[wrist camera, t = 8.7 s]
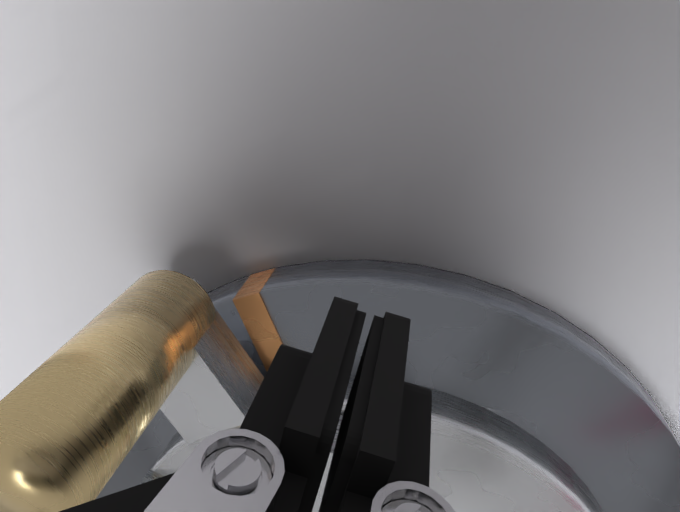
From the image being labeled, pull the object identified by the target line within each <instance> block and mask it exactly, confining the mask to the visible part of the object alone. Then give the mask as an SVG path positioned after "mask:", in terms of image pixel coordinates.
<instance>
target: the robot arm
mask: <svg viewBox="0 0 680 512" xmlns="http://www.w3.org/2000/svg"><path fill="white" fill-rule="evenodd" d="M358 304H359V303H356V302H352V301H349V300H345V299H342V298H339V297H334V299H333V301H332V304H331V306H330V309H329V312H328V314H327V317H326V319H325V322H324V325H323V327H322V330H321V332H320V335H319V338H318V340H317V343H316V346H315V348H314V351H313V353H310V352H307V351H303V350H300V349H297V348H293V347H290V346H287V345H284V344H281V345H280V347H279V349H278V351H277V353H276V355H275V357H274V359H273V361H272V363H271V365H270V367H269V369H268V371H267V373H266V375H265V377H264V379H263V381H262V383H261V385H260V387H259V390H258V392H257V394H256V396H255V398H254V400H253V402H252V404H251V406H250V408H249V410H248V412H247V414H246V416H245V418H244V420H243V422H242V424H241V426H240V428H239V429H227V430H222V431H218V432H216V433H214V434H212V435H209V436H207V437H206V438H205V439H204V440H203V441H202V442H201V443H199V444H198V445H197V447H196V448H195V449H194V450H193V452H192V453H191V454H190V455H189V456H188V458H187V459H186V460H185V461H184V463H183V464H182V465H181V466H180V468H179V469H178V470H177V471H176V472H175V473H172V474H169V475H166V476H163V477H160V478H157V479H154V480H151V481H148V482H145V483H142V484H139V485H136V486H133V487H131V488H128V489H125V490H122V491H119V492H116V493H113V494H110V495H107V496H104V497H101V498H98V499H95V500H92V501H89V502H86V503H83V504H80V505H77V506H74V507H71V508H68V509H65V510H62V511H59V512H312V509H313V506H314V503H315V500H316V497H317V493H318V490H319V487H320V484H321V481H322V477H323V474H324V471H325V468H326V464H327V461H328V458H329V455H330V451H331V448H332V445H333V441H334V437H335V434H336V430H337V426H338V422H339V418H340V415H341V411H342V407H343V403H344V399H345V395H346V391H347V387H348V383H349V380H350V376H351V372H352V368H353V364H354V360H355V356H356V352H357V348H358V344H359V341H360V337H361V333H362V329H363V325H364V321H365V317H366V312H362V311H359V310H357V308H358ZM410 323H411V319H409V318H406V317H403V316H399V315H396V314H393V313H389V312H385V315H384V318H382V317H379V316H376V315H374V318H373V321H372V324H371V327H370V330H369V333H368V337H367V340H366V343H365V346H364V349H363V353H362V356H361V359H360V362H359V365H358V369H357V372H356V375H355V378H354V381H353V385H352V388H351V391H350V394H349V397H348V401H347V404H346V407H345V410H344V414H343V417H342V421H341V424H340V428H339V432H338V436H337V440H336V444H335V448H334V452H333V456H332V460H331V464H330V468H329V472H328V476H327V480H326V484H325V488H324V492H323V496H322V500H321V504H320V508H319V512H455V511H454V509H453V508H452V507H451V505H450V504H449V503H448V502H447V501H446V500H445V499H444V498H443V497H442V496H441V495H440V494H439V493H437V492H435V491H434V490H432V489H430V488H429V475H430V444H431V413H432V391H431V389H428V388H425V387H421V386H418V385H415V384H412V383H408V382H405V381H404V379H405V369H406V360H407V351H408V342H409V332H410Z"/></svg>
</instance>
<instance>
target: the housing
mask: <svg viewBox="0 0 680 512" xmlns="http://www.w3.org/2000/svg"><path fill="white" fill-rule="evenodd" d="M207 294H208V295H209V297H210V299H211V301H212V303H213V305H214V307H215V309H216V310H217V311H218V313H219V314H220V316H221V317H222V318H223V320H224V321H225V323H226V324H227V326H228V327H229V328H230V330H231V331H232V333H233V334H234V335H235V337H236V338H237V340H238V341H239V343H240V344H241V345H242V347H243V348H244V350H245V351H246V352H247V354H248V355H249V357H250V358H251V360H252V361H253V362H254V364H255V365H256V367H257V368H258V369H259V371H260V372H261V374H262V375H263V377H265V375H266V373H267V371H268V369H269V367H270V365H271V363H272V361H273V359H274V357H275V355H276V353H277V351H278V349H279V347H280V345H281V344H284V345H287V346H290V347H293V348H297V349H300V350H303V351H307V352H310V353H313V351H314V348H315V346H316V343H317V340H318V338H319V335H320V332H321V330H322V327H323V325H324V322H325V319H326V317H327V314H328V312H329V309H330V306H331V304H332V301H333V299H334V297H339V298H342V299H345V300H349V301H352V302H356V303H359V304H358V308H357V310H359V311H362V312H366V317H365V321H364V325H363V329H362V333H361V337H360V341H359V344H358V348H357V352H356V356H355V360H354V364H353V368H352V372H351V376H355V375H356V372H357V369H358V365H359V362H360V359H361V356H362V353H363V349H364V346H365V343H366V340H367V337H368V333H369V330H370V327H371V324H372V321H373V318H374V315H376V316H379V317H382V318H384V315H385V312H389V313H393V314H396V315H399V316H403V317H406V318H409V319H411V323H410V332H409V342H408V351H407V360H406V369H405V379H404V381H405V382H408V383H412V384H415V385H419V386H423V387H426V388H430V389H434V390H438V391H441V392H445V393H448V394H450V395H453V396H456V397H458V398H461V399H463V400H466V401H469V402H471V403H474V404H476V405H479V406H481V407H483V408H485V409H487V410H489V411H491V412H493V413H495V414H497V415H499V416H501V417H503V418H505V419H507V420H509V421H511V422H512V423H514V424H516V425H517V426H519V427H520V428H522V429H523V430H525V431H526V432H528V433H529V434H531V435H532V436H534V437H535V438H537V439H538V440H540V441H541V442H543V443H544V444H545V445H546V446H547V447H549V448H550V449H551V450H552V451H553V452H554V453H555V454H557V455H558V456H559V457H560V458H561V459H562V460H563V461H565V462H566V463H567V464H568V465H569V466H570V467H571V468H572V469H573V471H574V472H575V473H576V474H577V475H578V476H579V477H580V479H581V480H582V481H583V482H584V483H585V484H586V485H587V487H588V488H589V489H590V490H591V492H592V494H593V495H594V497H595V498H596V500H597V502H598V503H599V505H600V506H601V508H602V509H603V511H604V512H680V444H679V442H678V440H677V438H676V437H675V435H674V433H673V431H672V429H671V428H670V426H669V424H668V423H667V421H666V420H665V418H664V416H663V415H662V413H661V411H660V410H659V408H658V406H657V405H656V403H655V402H654V400H653V398H652V397H651V396H650V394H649V393H648V392H647V391H646V390H645V389H644V387H643V386H642V385H641V384H640V383H639V382H638V380H637V379H636V378H635V377H634V376H633V375H632V373H631V372H630V371H629V370H628V369H627V368H626V366H625V365H623V364H622V363H621V362H620V361H619V360H618V359H617V358H615V357H614V356H613V355H612V354H611V353H610V352H608V351H607V350H606V349H605V348H604V347H603V346H602V345H600V344H599V343H598V342H597V341H596V340H595V339H593V338H592V337H591V336H589V335H588V334H586V333H585V332H583V331H582V330H580V329H579V328H577V327H576V326H574V325H573V324H571V323H570V322H568V321H566V320H565V319H563V318H562V317H560V316H559V315H557V314H556V313H554V312H553V311H551V310H549V309H546V308H544V307H542V306H540V305H538V304H536V303H534V302H532V301H530V300H528V299H526V298H524V297H522V296H520V295H518V294H516V293H514V292H512V291H509V290H506V289H504V288H501V287H498V286H495V285H492V284H489V283H486V282H483V281H480V280H477V279H474V278H472V277H469V276H466V275H462V274H458V273H453V272H449V271H444V270H439V269H435V268H430V267H426V266H421V265H416V264H406V263H396V262H386V261H375V260H341V261H319V262H312V263H305V264H298V265H292V266H285V267H279V268H273V269H269V270H266V271H262V272H258V273H255V274H251V275H250V276H247V277H244V278H240V279H238V280H236V281H233V282H231V283H229V284H227V285H224V286H222V287H220V288H218V289H215V290H213V291H211V292H209V293H207ZM177 432H178V431H177V430H176V428H175V427H174V426H173V425H172V423H171V422H170V421H169V420H168V418H167V417H166V416H165V415H164V413H163V412H162V411H161V410H160V409H159V411H158V412H157V413H156V415H155V416H154V418H153V419H152V420H151V422H150V423H149V425H148V426H147V427H146V429H145V430H144V432H143V433H142V434H141V436H140V437H139V439H138V440H137V441H136V443H135V444H134V446H133V447H132V448H131V450H130V451H129V453H128V454H127V455H126V457H125V458H124V460H123V461H122V463H121V464H120V465H119V467H118V468H117V470H116V471H115V472H114V474H113V475H112V477H111V478H110V479H109V481H108V482H107V484H106V485H105V486H104V488H103V489H102V491H101V492H100V493H99V495H98V496H97V498H96V499H98V498H101V497H104V496H107V495H110V494H113V493H116V492H119V491H122V490H125V489H128V488H131V487H133V486H136V485H139V484H140V483H141V482H142V480H143V479H144V477H145V476H146V474H147V472H148V471H149V469H152V467H153V466H154V464H155V462H156V461H157V459H158V458H159V456H160V455H161V453H162V452H163V450H164V449H165V448H166V446H167V445H168V443H169V442H170V441H171V439H172V438H173V436H174V435H175V434H176V433H177Z"/></svg>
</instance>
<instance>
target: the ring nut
mask: <svg viewBox="0 0 680 512" xmlns="http://www.w3.org/2000/svg"><path fill="white" fill-rule="evenodd" d="M354 378H355V376H350V380H349V383H348V387H347V391H346V395H345V399H344V403H343V407H342V411H341V415H340V418H339V422H338V426H337V430H336V434H335V437H334V441H333V445H332V448H331V451H330V455H329V458H328V461H327V464H326V468H325V471H324V474H323V477H322V481H321V484H320V487H319V490H318V493H317V497H316V500H315V503H314V506H313V509H312V512H319V508H320V504H321V500H322V496H323V492H324V488H325V484H326V480H327V476H328V472H329V468H330V464H331V460H332V456H333V452H334V448H335V444H336V440H337V436H338V432H339V428H340V424H341V421H342V417H343V414H344V410H345V407H346V404H347V401H348V397H349V394H350V391H351V388H352V385H353V381H354ZM263 379H264V377H263V375H262V374H261V372H260V371H259V369H258V368H257V367H256V365H255V364H254V362H253V361H252V360H251V358H250V357H249V355H248V354H247V352H246V351H245V350H244V348H243V347H242V345H241V344H240V343H239V341H238V340H237V338H236V337H235V335H234V334H233V333H232V331H231V330H230V328H229V327H228V326H227V324H226V323H225V321H224V320H223V318H222V317H221V316H220V314H219V313H218V311H217V310H216V309H215V307H214V305H213V303H212V301H211V299H210V297H209V295H208V294H207V293H206V291H205V290H204V289H203V288H202V287H201V286H200V285H199V284H198V283H197V282H196V280H195V279H194V278H193V279H191V278H189V277H187V276H185V275H183V274H181V273H178V272H174V271H168V270H158V271H153V272H149V273H147V274H145V275H143V276H142V277H141V278H139V279H138V280H137V281H136V282H135V283H134V284H133V285H132V286H130V287H129V288H128V289H127V290H126V291H125V292H124V293H122V294H121V295H120V296H119V297H118V298H117V299H116V300H114V301H113V302H112V303H111V304H110V305H109V306H108V307H107V308H105V309H104V310H103V311H102V312H101V313H100V314H99V315H97V316H96V317H95V318H94V319H93V320H92V321H91V322H90V323H88V324H87V325H86V326H85V327H84V328H83V329H82V330H80V331H79V332H78V333H77V334H76V335H75V336H74V337H73V338H71V339H70V340H69V341H68V342H67V343H66V344H65V345H63V346H62V347H61V348H60V349H59V350H58V351H57V352H56V353H54V354H53V355H52V356H51V357H50V358H49V359H48V360H46V361H45V362H44V363H43V364H42V365H41V366H40V367H38V368H37V369H36V370H35V371H34V372H33V373H32V374H31V375H29V376H28V377H27V378H26V379H25V380H24V381H23V382H21V383H20V384H19V385H18V386H17V387H16V388H15V389H14V390H12V391H11V392H10V393H9V394H8V395H7V396H6V397H4V398H3V399H2V400H1V401H0V512H59V511H62V510H65V509H68V508H71V507H74V506H77V505H80V504H83V503H86V502H89V501H92V500H95V499H96V498H97V496H98V495H99V493H100V492H101V491H102V489H103V488H104V486H105V485H106V484H107V482H108V481H109V479H110V478H111V477H112V475H113V474H114V472H115V471H116V470H117V468H118V467H119V465H120V464H121V463H122V461H123V460H124V458H125V457H126V455H127V454H128V453H129V451H130V450H131V448H132V447H133V446H134V444H135V443H136V441H137V440H138V439H139V437H140V436H141V434H142V433H143V432H144V430H145V429H146V427H147V426H148V425H149V423H150V422H151V420H152V419H153V418H154V416H155V415H156V413H157V412H158V411H159V409H160V410H161V411H162V412H163V413H164V415H165V416H166V417H167V418H168V420H169V421H170V422H171V423H172V425H173V426H174V427H175V428H176V430H177V431H178V432H177V433H176V434H175V435H174V436H173V438H172V439H171V441H170V442H169V443H168V445H167V446H166V448H165V449H164V450H163V452H162V453H161V455H160V456H159V458H158V459H157V461H156V462H155V464H154V466H153V467H152V469H149V471H148V472H147V474H146V476H145V477H144V479H143V480H142V482H141V483H140V484H142V483H145V482H148V481H151V480H154V479H157V478H160V477H163V476H166V475H169V474H172V473H175V472H176V471H177V470H178V469H179V468H180V466H181V465H182V464H183V463H184V461H185V460H186V459H187V458H188V456H189V455H190V454H191V453H192V452H193V450H194V449H195V448H196V447H197V445H198V444H199V443H201V442H202V441H203V440H204V439H205V438H206V437H207V436H209V435H212V434H214V433H216V432H218V431H222V430H227V429H239V428H240V426H241V424H242V422H243V420H244V418H245V416H246V414H247V412H248V410H249V408H250V406H251V404H252V402H253V400H254V398H255V396H256V394H257V392H258V390H259V387H260V385H261V383H262V381H263ZM418 386H419V385H418ZM421 387H423V386H421ZM425 388H426V387H425ZM428 389H430V388H428ZM431 391H432V413H431V444H430V475H429V488H430V489H432V490H434V491H435V492H437V493H439V494H440V495H441V496H442V497H443V498H444V499H445V500H446V501H447V502H448V503H449V504H450V505H451V507H452V508H453V509H454V511H455V512H604V511H603V509H602V508H601V506H600V505H599V503H598V502H597V500H596V498H595V497H594V495H593V494H592V492H591V490H590V489H589V488H588V487H587V485H586V484H585V483H584V482H583V481H582V480H581V479H580V477H579V476H578V475H577V474H576V473H575V472H574V471H573V469H572V468H571V467H570V466H569V465H568V464H567V463H566V462H565V461H563V460H562V459H561V458H560V457H559V456H558V455H557V454H555V453H554V452H553V451H552V450H551V449H550V448H549V447H547V446H546V445H545V444H544V443H543V442H541V441H540V440H538V439H537V438H535V437H534V436H532V435H531V434H529V433H528V432H526V431H525V430H523V429H522V428H520V427H519V426H517V425H516V424H514V423H512V422H511V421H509V420H507V419H505V418H503V417H501V416H499V415H497V414H495V413H493V412H491V411H489V410H487V409H485V408H483V407H481V406H479V405H476V404H474V403H471V402H469V401H466V400H463V399H461V398H458V397H456V396H453V395H450V394H448V393H445V392H441V391H438V390H434V389H431Z"/></svg>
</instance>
